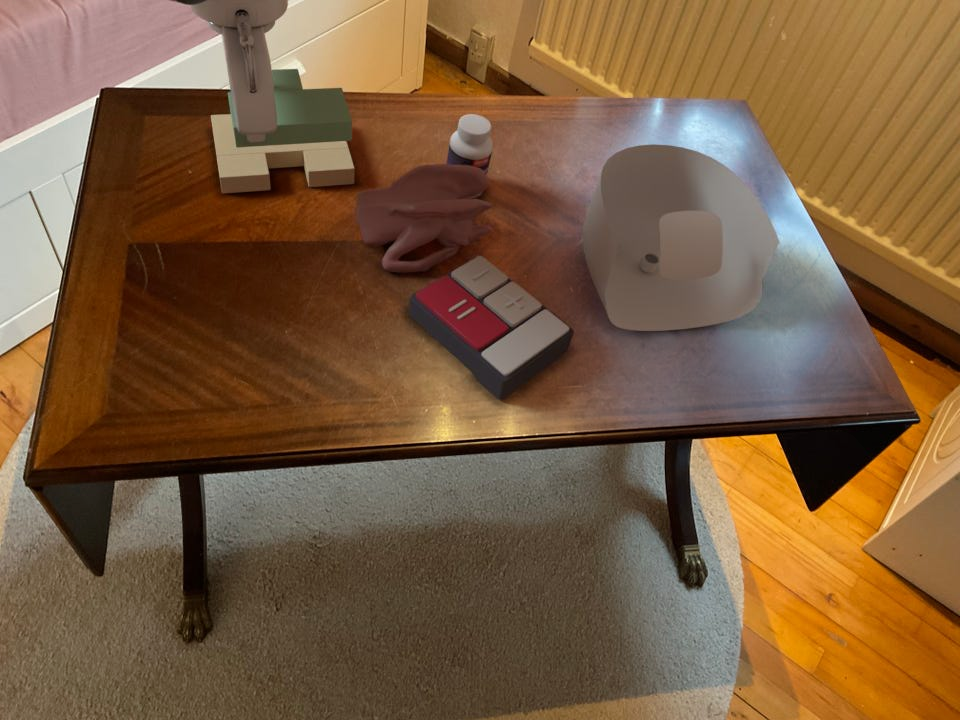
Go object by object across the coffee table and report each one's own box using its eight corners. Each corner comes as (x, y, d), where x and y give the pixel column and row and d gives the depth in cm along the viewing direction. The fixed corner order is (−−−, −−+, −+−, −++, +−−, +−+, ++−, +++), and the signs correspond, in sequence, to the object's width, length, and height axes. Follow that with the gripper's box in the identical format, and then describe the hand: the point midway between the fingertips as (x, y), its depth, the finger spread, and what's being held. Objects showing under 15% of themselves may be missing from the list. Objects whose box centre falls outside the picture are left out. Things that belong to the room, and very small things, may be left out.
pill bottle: (471, 206, 95) (483, 143, 87) (435, 188, 96) (444, 124, 88) (491, 184, 98) (504, 122, 90) (456, 167, 99) (467, 104, 91)
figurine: (388, 297, 89) (508, 267, 85) (349, 239, 81) (478, 203, 77) (394, 227, 96) (504, 196, 92) (358, 168, 88) (476, 131, 84)
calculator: (480, 248, 85) (577, 326, 79) (476, 275, 89) (569, 351, 83) (408, 291, 80) (506, 377, 74) (406, 317, 83) (500, 402, 77)
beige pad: (222, 193, 89) (219, 177, 87) (213, 131, 96) (210, 114, 94) (354, 184, 94) (354, 168, 92) (337, 125, 100) (337, 109, 98)
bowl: (689, 215, 101) (726, 143, 91) (749, 324, 90) (797, 256, 81) (551, 220, 95) (575, 145, 86) (597, 337, 85) (629, 266, 75)
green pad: (236, 147, 77) (233, 127, 75) (227, 91, 82) (224, 70, 80) (352, 140, 80) (352, 121, 78) (336, 86, 85) (335, 67, 83)
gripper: (288, 49, 62) (296, 179, 73) (259, -70, 73) (271, 58, 84) (208, 51, 60) (229, 183, 71) (191, -71, 71) (212, 60, 82)
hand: (251, 115), depth 77 cm, fingers closed on green pad, 6 cm apart
